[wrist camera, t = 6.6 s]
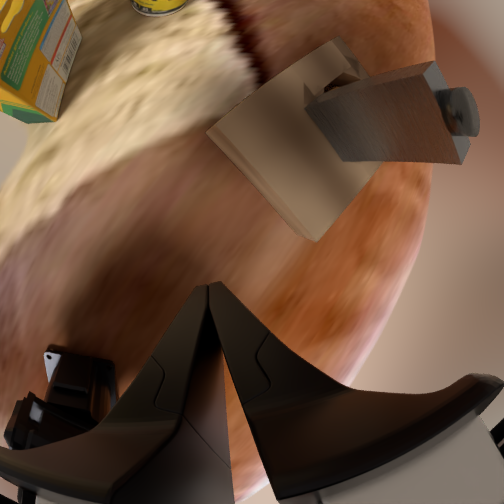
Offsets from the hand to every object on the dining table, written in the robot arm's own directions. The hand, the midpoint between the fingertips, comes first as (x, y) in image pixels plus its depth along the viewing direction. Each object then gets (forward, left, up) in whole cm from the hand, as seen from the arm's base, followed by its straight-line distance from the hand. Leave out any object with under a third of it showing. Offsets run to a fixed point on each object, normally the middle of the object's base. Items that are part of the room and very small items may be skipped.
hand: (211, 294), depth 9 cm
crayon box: (+10, +13, -12) cm, 20 cm away
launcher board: (+10, -9, -11) cm, 18 cm away
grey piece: (+10, -9, -8) cm, 16 cm away
